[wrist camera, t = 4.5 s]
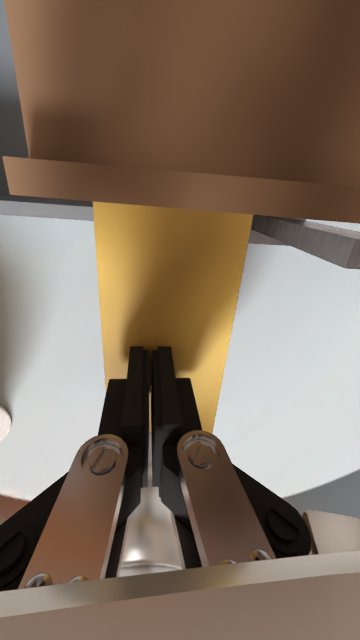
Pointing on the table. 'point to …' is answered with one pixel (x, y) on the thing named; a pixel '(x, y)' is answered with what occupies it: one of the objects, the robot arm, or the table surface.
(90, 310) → the table surface
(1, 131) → the cup
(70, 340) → the table surface
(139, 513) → the plastic bottle
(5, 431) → the beer glass
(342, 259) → the pivot stand
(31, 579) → the robot arm
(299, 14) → the lever chute
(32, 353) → the table surface
